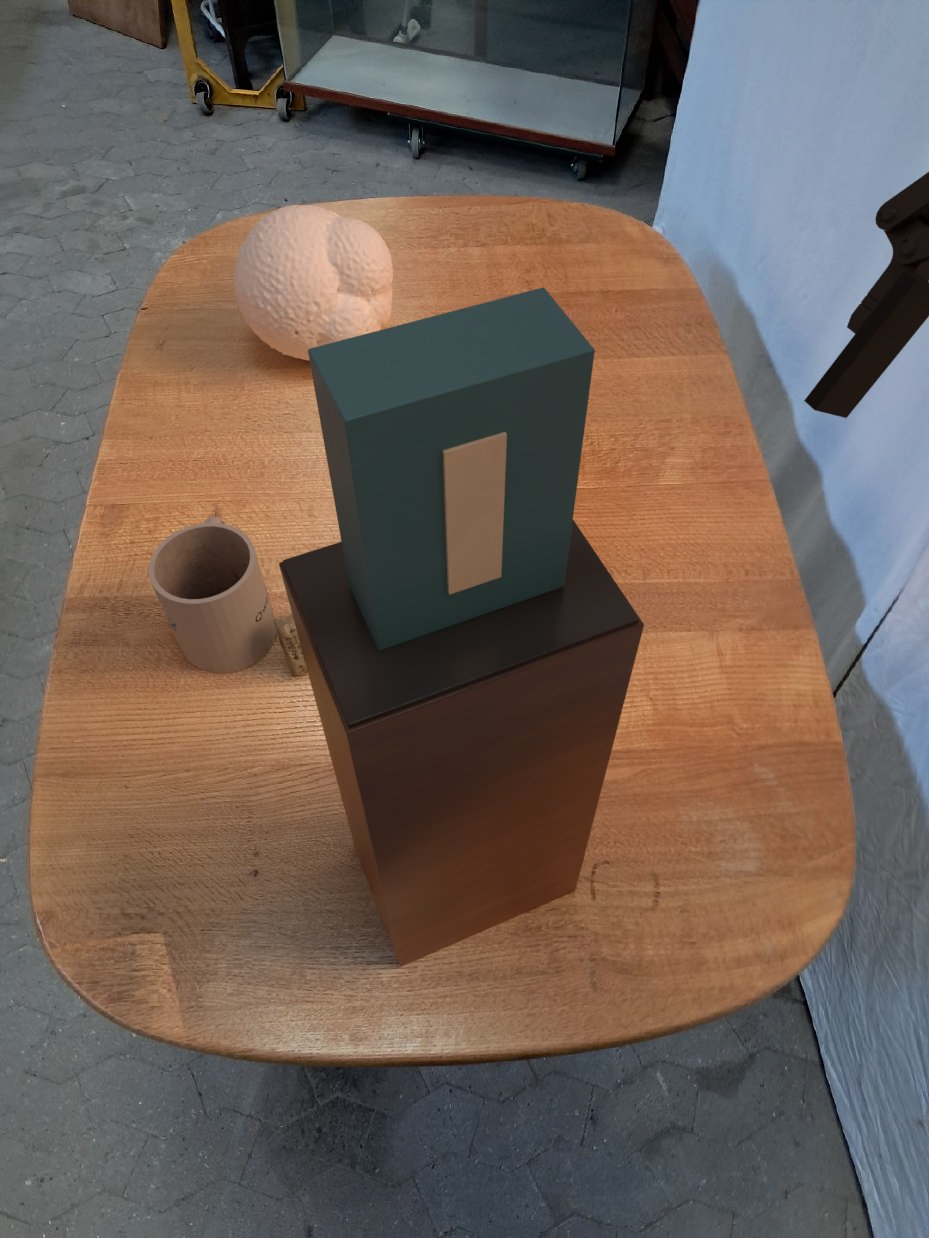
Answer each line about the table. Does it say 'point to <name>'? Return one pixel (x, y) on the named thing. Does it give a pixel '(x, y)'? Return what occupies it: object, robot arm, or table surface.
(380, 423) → the teal box
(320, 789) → the table surface
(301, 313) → the decorative orb
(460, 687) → the pedestal
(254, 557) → the mug
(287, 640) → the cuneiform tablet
